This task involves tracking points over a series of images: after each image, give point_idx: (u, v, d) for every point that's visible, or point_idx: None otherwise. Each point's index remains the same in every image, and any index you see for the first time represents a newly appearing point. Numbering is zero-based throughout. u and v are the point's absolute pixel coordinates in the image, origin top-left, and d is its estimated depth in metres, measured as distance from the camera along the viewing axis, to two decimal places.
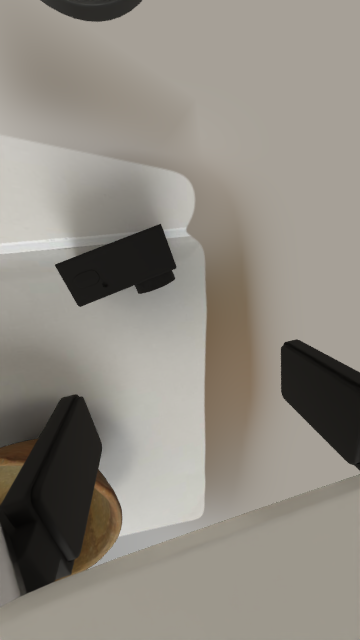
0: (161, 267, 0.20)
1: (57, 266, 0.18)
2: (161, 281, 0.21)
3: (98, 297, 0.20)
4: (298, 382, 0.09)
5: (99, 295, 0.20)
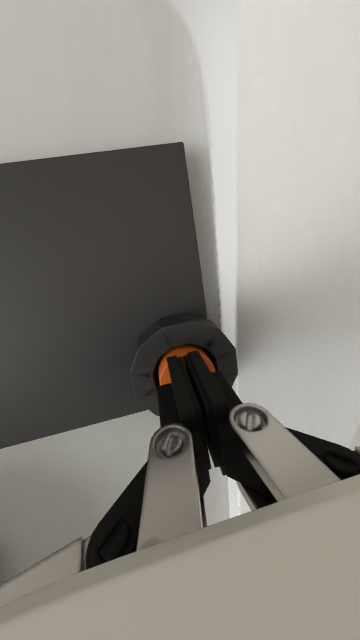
0: None
1: None
2: None
3: None
4: None
5: None
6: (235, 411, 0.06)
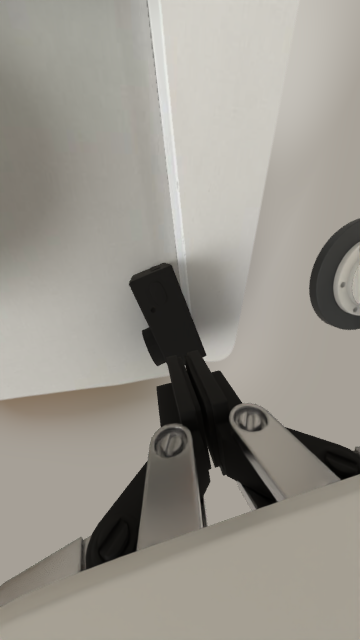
0: None
1: (169, 267, 0.19)
2: (157, 359, 0.21)
3: (139, 303, 0.19)
4: None
5: (141, 303, 0.19)
6: (235, 411, 0.06)
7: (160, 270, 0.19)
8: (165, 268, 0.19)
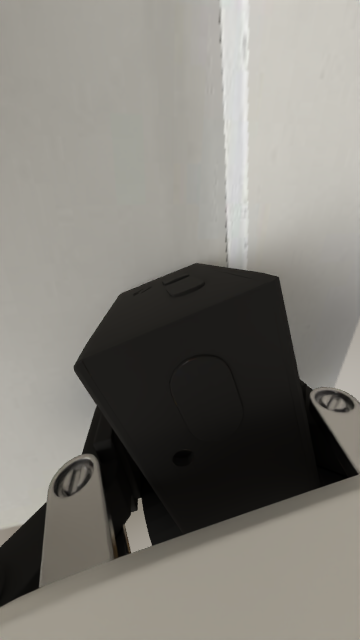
0: None
1: (271, 288, 0.04)
2: None
3: (127, 441, 0.04)
4: None
5: (134, 440, 0.04)
6: (314, 394, 0.06)
7: (227, 303, 0.04)
8: (252, 294, 0.04)
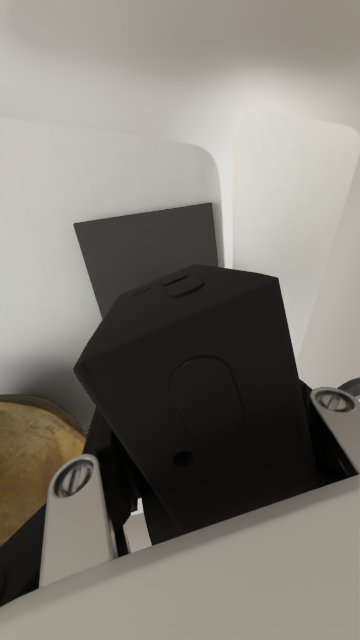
0: None
1: (270, 289, 0.04)
2: None
3: (127, 442, 0.04)
4: None
5: (134, 441, 0.04)
6: (315, 394, 0.06)
7: (226, 304, 0.04)
8: (251, 295, 0.04)
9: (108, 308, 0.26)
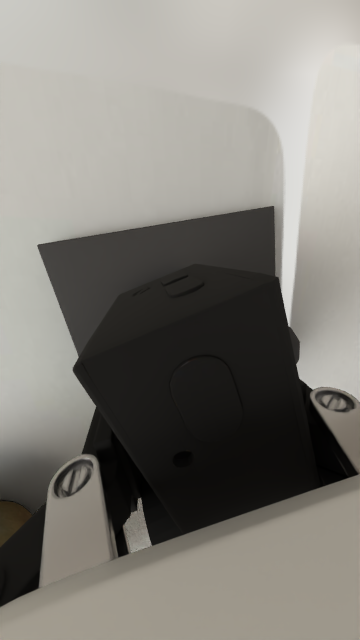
0: None
1: (270, 288, 0.04)
2: None
3: (127, 442, 0.04)
4: None
5: (134, 441, 0.04)
6: (315, 394, 0.06)
7: (226, 304, 0.04)
8: (251, 294, 0.04)
9: None
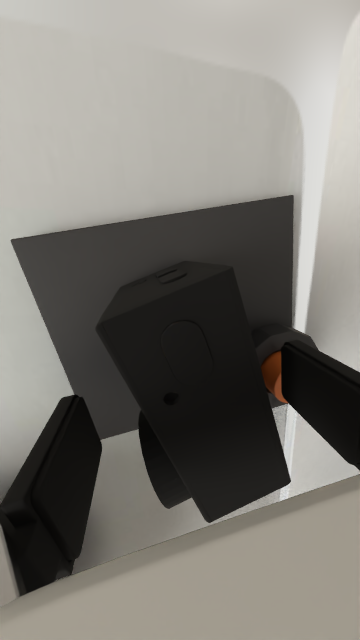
0: (210, 501, 0.09)
1: (227, 274, 0.06)
2: (176, 501, 0.09)
3: (131, 383, 0.06)
4: (298, 382, 0.09)
5: (136, 383, 0.06)
6: None
7: (198, 284, 0.06)
8: (214, 278, 0.06)
9: (92, 394, 0.14)
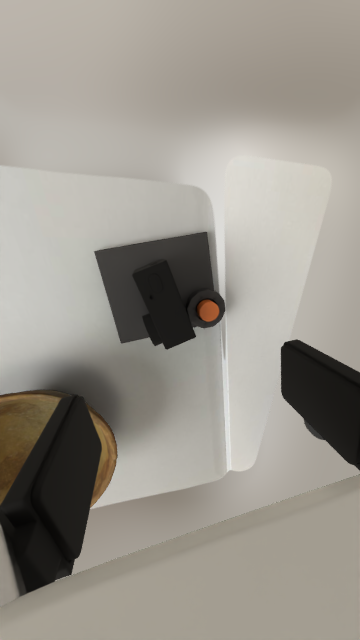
0: (166, 339, 0.26)
1: (165, 262, 0.23)
2: (155, 339, 0.26)
3: (140, 291, 0.23)
4: (298, 382, 0.09)
5: (142, 291, 0.23)
6: None
7: (157, 264, 0.23)
8: (161, 262, 0.23)
9: (121, 319, 0.31)
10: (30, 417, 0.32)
